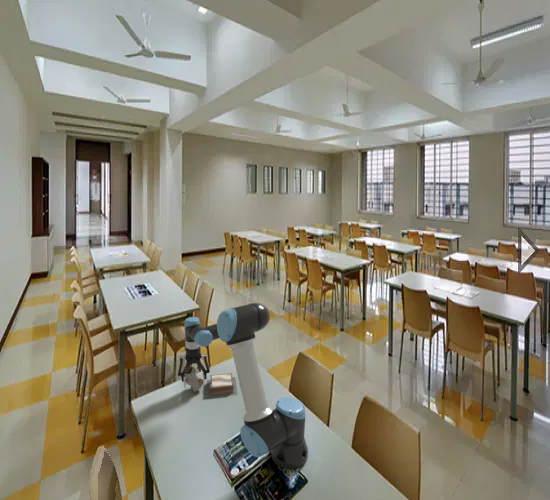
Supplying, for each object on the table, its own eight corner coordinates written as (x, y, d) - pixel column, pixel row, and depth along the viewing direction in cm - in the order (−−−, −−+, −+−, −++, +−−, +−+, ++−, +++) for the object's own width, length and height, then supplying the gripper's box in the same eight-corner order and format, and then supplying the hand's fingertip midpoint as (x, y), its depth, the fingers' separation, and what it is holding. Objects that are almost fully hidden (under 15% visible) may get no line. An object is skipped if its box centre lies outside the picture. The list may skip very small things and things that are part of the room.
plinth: (233, 392, 165) (233, 385, 164) (210, 395, 163) (210, 388, 162) (232, 379, 177) (231, 372, 176) (210, 381, 174) (210, 374, 174)
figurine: (183, 387, 168) (182, 362, 166) (201, 383, 172) (201, 358, 170) (186, 397, 160) (184, 370, 158) (205, 392, 165) (204, 366, 162)
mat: (237, 395, 164) (237, 394, 164) (206, 398, 160) (206, 398, 160) (235, 377, 179) (235, 377, 179) (207, 380, 176) (206, 380, 176)
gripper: (214, 341, 168) (215, 379, 172) (172, 344, 164) (174, 383, 168) (214, 348, 161) (215, 387, 165) (170, 351, 156) (172, 392, 160)
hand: (194, 385), depth 166 cm, fingers closed on figurine, 9 cm apart
